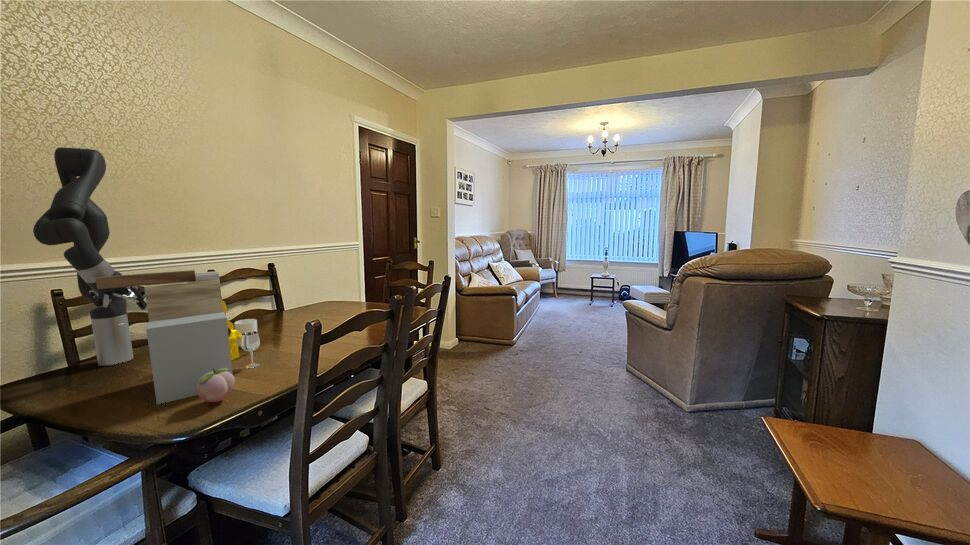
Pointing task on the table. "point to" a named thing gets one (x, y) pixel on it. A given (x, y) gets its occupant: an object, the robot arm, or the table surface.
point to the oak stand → (183, 299)
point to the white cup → (245, 327)
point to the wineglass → (250, 345)
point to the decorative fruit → (215, 385)
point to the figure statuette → (232, 336)
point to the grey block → (186, 353)
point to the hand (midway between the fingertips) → (131, 310)
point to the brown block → (154, 278)
